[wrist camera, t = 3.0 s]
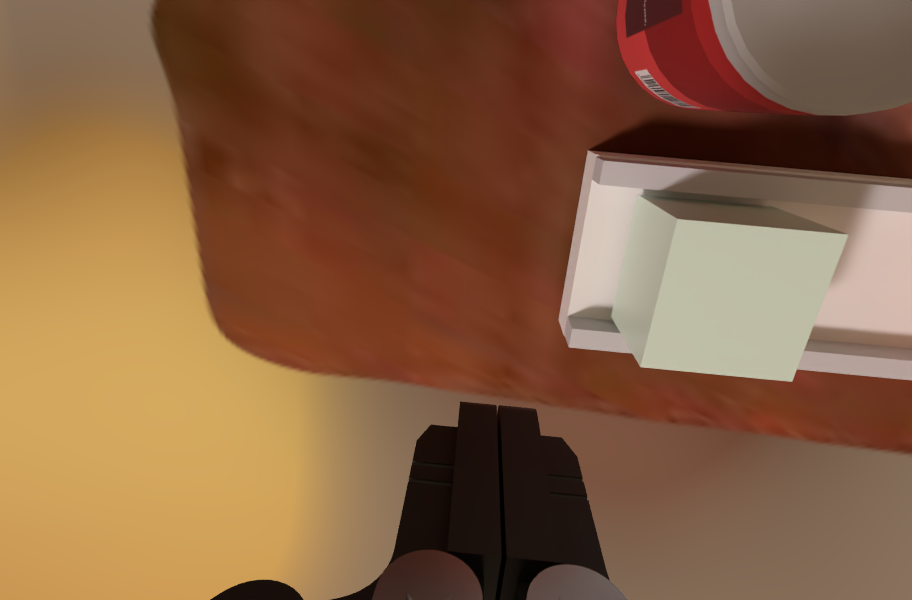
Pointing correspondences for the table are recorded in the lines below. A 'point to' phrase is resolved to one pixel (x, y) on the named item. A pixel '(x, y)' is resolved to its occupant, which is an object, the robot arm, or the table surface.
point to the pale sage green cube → (722, 286)
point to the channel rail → (792, 190)
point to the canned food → (770, 54)
